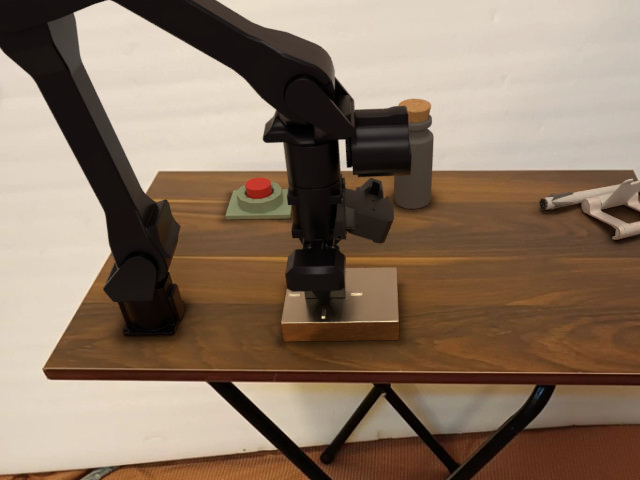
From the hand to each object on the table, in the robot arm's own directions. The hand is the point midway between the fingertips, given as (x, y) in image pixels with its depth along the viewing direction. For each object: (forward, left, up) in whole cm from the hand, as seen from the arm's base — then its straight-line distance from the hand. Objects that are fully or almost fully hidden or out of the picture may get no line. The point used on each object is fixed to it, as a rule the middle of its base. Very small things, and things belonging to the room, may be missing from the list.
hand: (325, 292), depth 79 cm
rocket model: (+31, +24, -2) cm, 39 cm away
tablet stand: (+44, +18, +1) cm, 48 cm away
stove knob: (0, 0, 0) cm, 0 cm away
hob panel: (+2, 0, -3) cm, 4 cm away
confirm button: (-12, +27, -1) cm, 30 cm away
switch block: (-12, +27, -3) cm, 30 cm away
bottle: (+12, +28, -3) cm, 31 cm away
